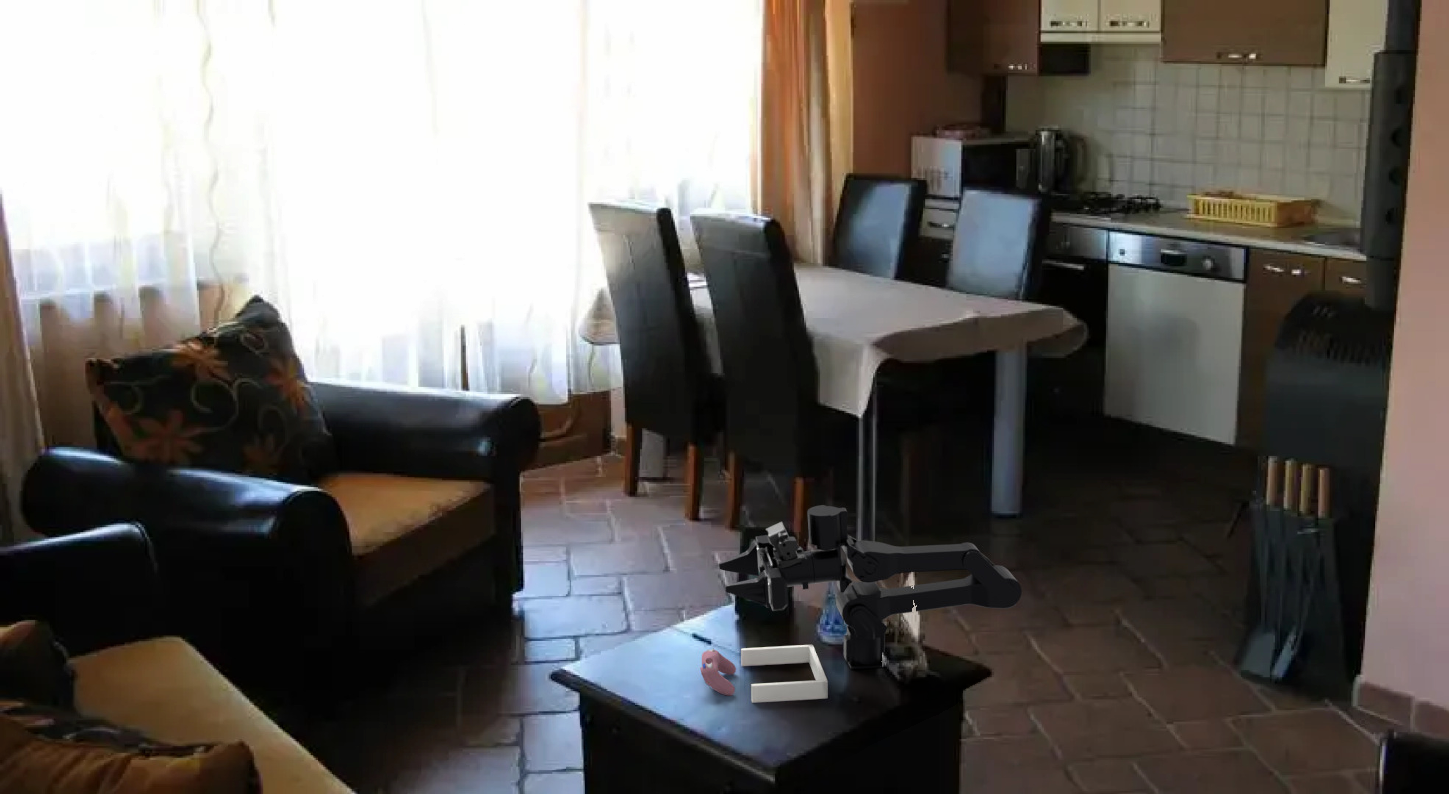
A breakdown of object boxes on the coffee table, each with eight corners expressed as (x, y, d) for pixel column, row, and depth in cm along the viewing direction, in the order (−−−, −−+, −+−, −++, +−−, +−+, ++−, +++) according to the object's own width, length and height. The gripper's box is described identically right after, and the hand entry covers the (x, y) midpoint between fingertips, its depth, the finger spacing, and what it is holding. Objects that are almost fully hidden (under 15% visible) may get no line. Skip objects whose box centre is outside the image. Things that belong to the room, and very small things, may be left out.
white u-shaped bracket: (812, 660, 267) (812, 644, 267) (827, 698, 252) (827, 681, 252) (741, 664, 266) (741, 648, 265) (752, 702, 251) (751, 686, 250)
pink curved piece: (715, 681, 263) (696, 647, 262) (738, 670, 263) (719, 636, 261) (713, 706, 254) (693, 671, 252) (737, 694, 253) (717, 660, 252)
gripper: (799, 504, 267) (712, 513, 266) (818, 546, 250) (725, 557, 248) (802, 561, 271) (717, 571, 269) (821, 607, 253) (729, 617, 252)
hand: (722, 577), depth 260 cm, fingers open, 9 cm apart
